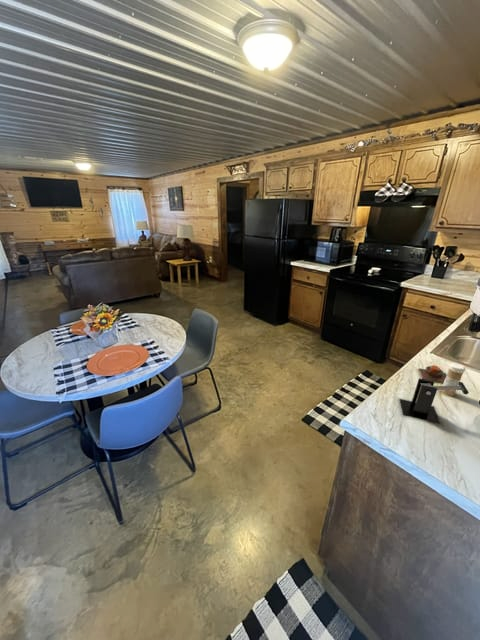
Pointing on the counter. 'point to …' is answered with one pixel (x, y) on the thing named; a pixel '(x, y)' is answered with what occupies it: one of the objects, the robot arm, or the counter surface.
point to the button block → (432, 375)
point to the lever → (450, 387)
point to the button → (435, 369)
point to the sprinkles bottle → (453, 377)
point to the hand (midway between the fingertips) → (473, 330)
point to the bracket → (421, 403)
